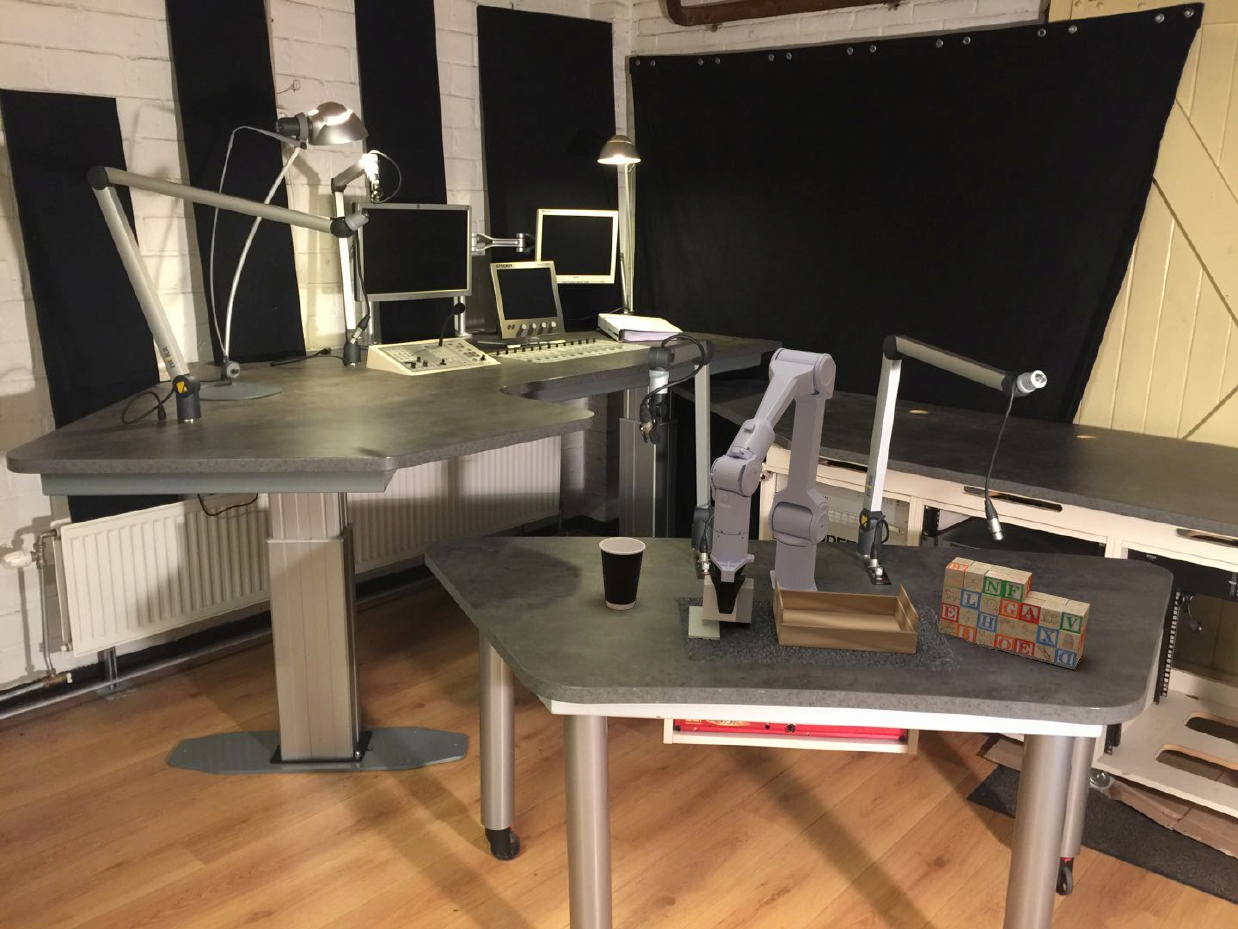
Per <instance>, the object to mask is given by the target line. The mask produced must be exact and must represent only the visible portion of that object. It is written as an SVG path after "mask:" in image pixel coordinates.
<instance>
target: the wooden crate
mask: <svg viewBox="0 0 1238 929" xmlns="http://www.w3.org/2000/svg"><path fill="white" fill-rule="evenodd" d="M772 609H773V610H772V611H773V616H774V621H775V628H776V634H777V639H778V644H779V645H778V646H788V647H803V648H804V647H805V648H818V649H819V648H820V649H835V650H847V651H850V650H851V651H864V652H878V653H879V652H881V653H883V652H884V653H895V654H896V653H897V654H909V655H910V654H911V655H916V650H917V642H918V635H919V634H918V626H919V616H918V613H917V611H916V609H915V607H914V606H913V603H912V601H911V599H910V597H909V596H908V594H907V592H906V590H905V587H904V586H903V584H902V583H899V588H898V595H883V594H866V593H849V592H837V591H836V592H834V591H833V592H832V591H818V590H817V591H804V590H788V589H780V587H779V582H778V577H777V576H776V578H775V589H773V603H772Z"/></svg>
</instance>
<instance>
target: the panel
mask: <svg viewBox="0 0 1238 929" xmlns="http://www.w3.org/2000/svg"><path fill="white" fill-rule="evenodd" d="M688 607H689V608H688V609H689V610H688V633H687V634H688V636H687V639H694V638H703V639H702V640H709V639H711V640H713V641H720V640H721V638H720V620H710V619H702V610H703V606H695V605H689V606H688Z"/></svg>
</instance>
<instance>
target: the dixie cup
mask: <svg viewBox="0 0 1238 929" xmlns="http://www.w3.org/2000/svg"><path fill="white" fill-rule="evenodd" d="M598 546H599V549H600V554H601V566H602V577H603V578H602V580H603V591H604V592H603V593H604V599H605V602H606V607H608V608H609V607H610V608H609V609H611V610H612V609H613V610H618V611H621V610H622V611H625V610H630V609H632V608H633V607H634V606H635V602H636V601H637V595H638V590H639V581H640V576H641V569H642V563H643V558H644V557H643V556H644V550H645V549H646V544H645V543H644V542H643V541H641V540H639V539H636V538H631V537H622V536H621V537H620V536H619V537H618V536H617V537H610V538H606V539H602V540H601V541H600V542H599V544H598Z"/></svg>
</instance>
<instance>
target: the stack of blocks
mask: <svg viewBox="0 0 1238 929" xmlns="http://www.w3.org/2000/svg"><path fill="white" fill-rule="evenodd" d="M1032 576H1033V573H1032V572H1029V571H1024V570H1019V569H1016V568H1014V569H1013V568H1010V567H1007V566H1006V567H1005V566H1001V565H994V564H991V563H985V562H980V561H975V560H972V559H969V558H963V557H959V556H958V557H955V558H954V559H953V560H952V561H950V563H948V564H947V565H946V567H945V571H944V580H943V584H942V595H941V604H940V618H939V622H938V630H937V631H938V632H939V633H943V634H946V635H949V636H954V637H956V638H962V639H964V640H965V641H966V640H967V641H970V642H974V643H977V644H985V645H988V646H992V647H998V648H1001V649H1005V650H1012V651H1016V652H1019V653H1023V654H1026V655H1030V656H1035V657H1037V658H1041V659H1044V660H1048V661H1051V662H1060V663H1062V664H1066V665H1069V666H1072V667H1073V668H1075V666H1076V665H1077V663H1078V661H1079V659H1080V658H1081V659H1082V657H1081V656H1083V652H1084V644H1085V643H1084V642H1085V638H1086V632H1087V631H1086V630H1087V624H1088V620H1089V613H1090V609H1091V603H1089V602H1088V603H1087V602H1082V601H1078V600H1072V599H1070V598H1066V597H1060V596H1058V595H1051V594H1048V593H1043V592H1039V591H1034V590H1031V585H1032ZM967 641H966V642H967ZM1079 662H1080V661H1079ZM1078 664H1079V663H1078ZM1077 666H1078V665H1077ZM1077 666H1076V667H1077ZM1075 669H1076V668H1075Z"/></svg>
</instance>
